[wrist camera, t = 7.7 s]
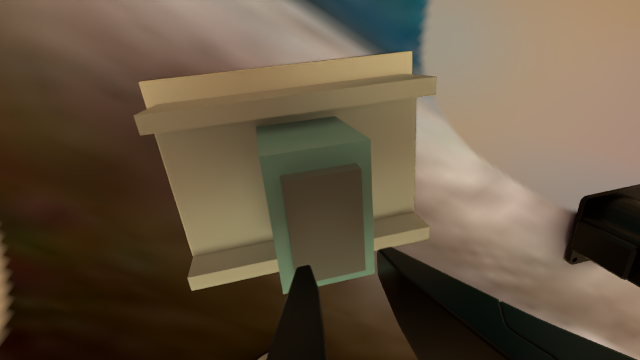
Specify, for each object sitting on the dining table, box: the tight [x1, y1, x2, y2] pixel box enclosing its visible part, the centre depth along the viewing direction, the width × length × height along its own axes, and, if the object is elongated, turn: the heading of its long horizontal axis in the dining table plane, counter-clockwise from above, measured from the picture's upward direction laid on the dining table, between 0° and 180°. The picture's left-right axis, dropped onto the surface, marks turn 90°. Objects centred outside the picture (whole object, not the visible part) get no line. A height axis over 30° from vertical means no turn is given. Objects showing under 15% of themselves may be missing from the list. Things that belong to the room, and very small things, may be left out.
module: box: [256, 116, 375, 294], centre depth 14 cm, size 6×4×6 cm, turn 5°
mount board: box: [134, 51, 437, 291], centre depth 17 cm, size 14×11×4 cm
